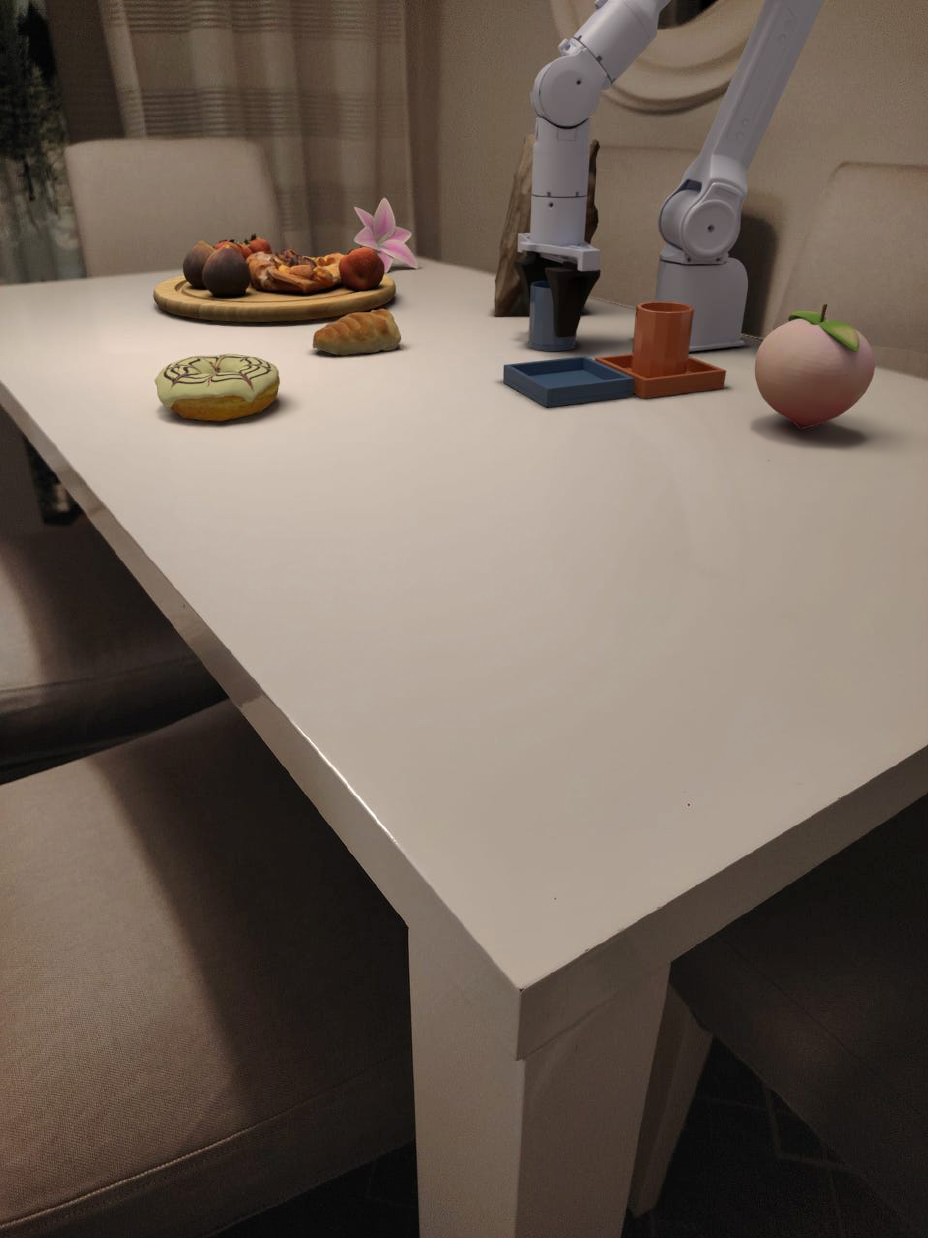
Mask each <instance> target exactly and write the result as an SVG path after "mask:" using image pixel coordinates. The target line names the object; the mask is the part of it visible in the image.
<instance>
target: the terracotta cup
mask: <svg viewBox="0 0 928 1238" xmlns="http://www.w3.org/2000/svg"><path fill="white" fill-rule="evenodd" d="M693 315H694V308H693V307H692V306H690V305H687V304H683V303H676V302H663V301H658V302H655V301H646V302H645V301H644V302H641V303H639V304H638V303H637V305H636V307H635V315H634V317H635V318H634V327H633V337H632V338H633V340H632V349H631V350H632V351H631V354H632V359H631V372H633V373H635V374H638V375H640V376H642V377H644V378H647V379H648V378H656V377H664V376H672V375H680V374H686V371H687V363H688V356H690V355H689V353H690V352H689V347H690V339H691V331H692V323H693Z"/></svg>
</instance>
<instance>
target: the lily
mask: <svg viewBox="0 0 928 1238" xmlns="http://www.w3.org/2000/svg"><path fill="white" fill-rule="evenodd" d="M353 209H354V211H355V213H356V214H357V216H358V217H359V220H360V221H361V223H362V224H363V225H364V227H363V228H362V229H361V230H360V231H359V232H358V233H357V234H356V235H355V237H354V238H353V242H354V243H356V244H358V245H360V246H362V247H367V248H371V249H374V251H376V253H377V255H378V256H379V257H380V258H381V259H382V261H383V263H384V265H385V266H384V268H385V271H384V274H386V273H388V271H389V270H390V268H391V266H392V264H393V261H394V258H395V259H396V260H399V261H401V262H403V263H405V264H406V265H408V266H410V267H412V268H414V269H417V270H418V269H419V264H418V262H417V260H416V258H415V256H414V254H413V253H412V250H411V249H410V248H409V247H408V245H407V244H406V242H407V241H408V240H409V239H410V238H411V237H412V235H413V234H412V232H411V231H409V229H406V228H403V227H400V226H397V225H396V218H395V215H394V212H393V209H392V207H391V204H390V202H389V201H388V199H387V198H386V197H383V198H382V199H381V200H380V202H379V203H378V206H377V208H376V211H375V213H374V215H372V214H371V213H370V212H367V211H366V210H364V209H362V208H360V207H357V206H354V207H353Z"/></svg>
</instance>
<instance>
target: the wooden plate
mask: <svg viewBox="0 0 928 1238" xmlns="http://www.w3.org/2000/svg"><path fill="white" fill-rule="evenodd" d="M384 266H385V265H384V263H383V261H382V259H381V258H380V257H379V256H378V253H377V250H374V249H373V248H370V247H367V246H360V247H358V248H351V249H350V250H349V251H347V253H346V254H342V253H340V252H334V253H331V254H327V255H325V256H318V257H310V256H306V255H305V256H304V255H300V254H299V253H297V252H296V251H295V250H293V249H292V248H289V249H281V250H280V253H279V252H275V253H274V254H273V251H272V247H271V245H270V243H269V242H268V241H267V240H266V239H264V238H262V237H261V235H259V236H258V235H257V233H252V234H251V236H250V238H245V239H244V241H243V242H242V241H235V239H234V238H233V239H232V238H231V239H229V240H228V239H221V240H220V241H219V242H218V243H217V244H216V245H214V246H211V245H209V244H208V243H206V242H204V241H203V240H199V241H198V242H197V244H194V245H193V247H191V249H189V251H188V252H187V254H186V256H185V258H184V260H183V262H182V272H183V274H182V275H177V276H175V277H171V278H169V279H166V280H164V281H162V282H160V283H159V284H157V285H156V286H155V287H154V289H153V294H152V296H153V297H152V298H153V300H154V303H155V304H156V305H157V306H158V308H160V309H161V310H162V311H163V310H164V311H165V312H167V313H171V314H173V315H176V316H180V317H181V316H182V317H187V318H192V319H199V320H208V321H218V322H237V323H238V322H239V323H269V322H293V321H305V320H315V319H324V318H325V319H326V318H333V317H340V316H346V315H349V314H351V313H358V312H359V313H362V312H365V311H369V310H373V309H375V308H379V307H381V306H384V305H385V304H387V303H388V302H390V301H391V300H392V299H393V298H394V297H395V295H396V293H397V285H396V283H395V280H394V279H393V278H392V277H391V276H390V275H388V274H386V273H385V272H384V271H385V268H384Z"/></svg>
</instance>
